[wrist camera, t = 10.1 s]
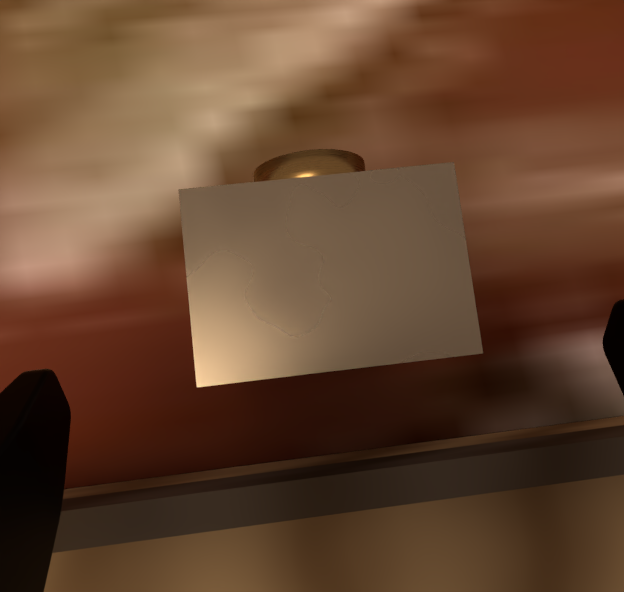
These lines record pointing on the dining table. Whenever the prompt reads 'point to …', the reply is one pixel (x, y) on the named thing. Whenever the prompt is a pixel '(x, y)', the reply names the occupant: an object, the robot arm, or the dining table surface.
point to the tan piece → (364, 521)
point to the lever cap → (326, 269)
